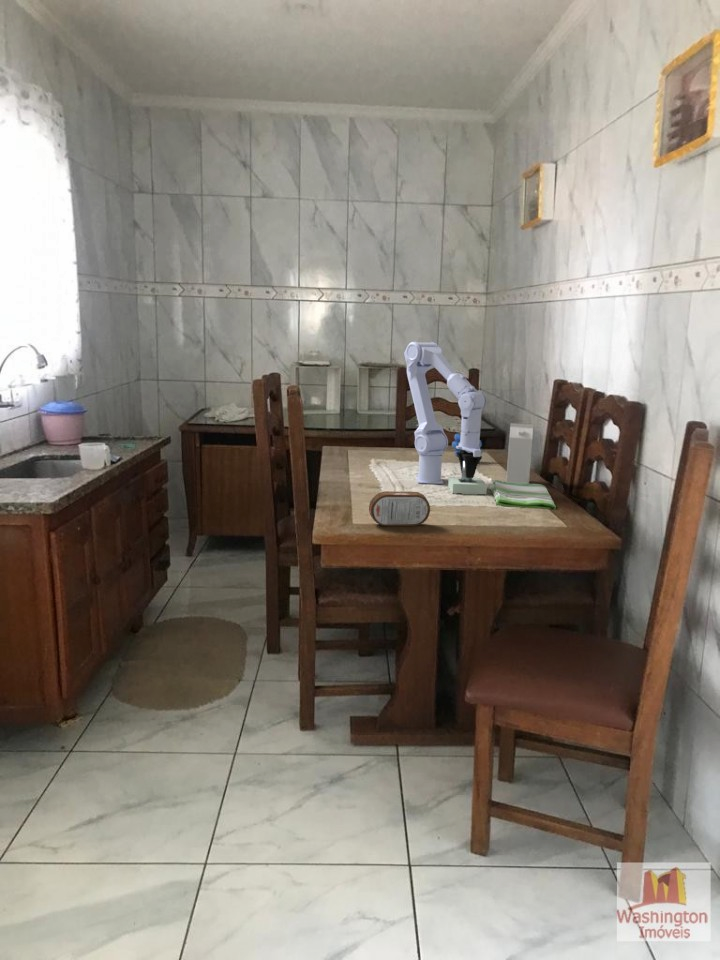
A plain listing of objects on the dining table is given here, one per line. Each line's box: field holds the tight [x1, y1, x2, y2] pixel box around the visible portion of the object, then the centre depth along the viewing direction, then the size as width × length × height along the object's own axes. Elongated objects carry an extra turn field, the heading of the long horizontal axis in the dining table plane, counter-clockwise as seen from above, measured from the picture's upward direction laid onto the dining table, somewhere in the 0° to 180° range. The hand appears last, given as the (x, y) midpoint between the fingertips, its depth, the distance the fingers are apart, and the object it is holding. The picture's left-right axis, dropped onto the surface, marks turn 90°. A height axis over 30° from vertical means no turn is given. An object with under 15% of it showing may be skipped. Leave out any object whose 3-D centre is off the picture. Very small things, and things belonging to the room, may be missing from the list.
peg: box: [461, 460, 472, 483], centre depth 220 cm, size 3×3×9 cm
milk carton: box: [505, 422, 534, 484], centre depth 234 cm, size 7×7×19 cm
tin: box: [368, 490, 431, 527], centre depth 178 cm, size 15×3×8 cm, turn 99°
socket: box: [447, 476, 488, 496], centre depth 220 cm, size 10×10×3 cm
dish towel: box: [490, 479, 557, 510], centre depth 213 cm, size 17×23×4 cm
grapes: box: [451, 433, 483, 458], centre depth 267 cm, size 12×7×12 cm, turn 99°
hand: (467, 476), depth 220 cm, fingers open, 3 cm apart
